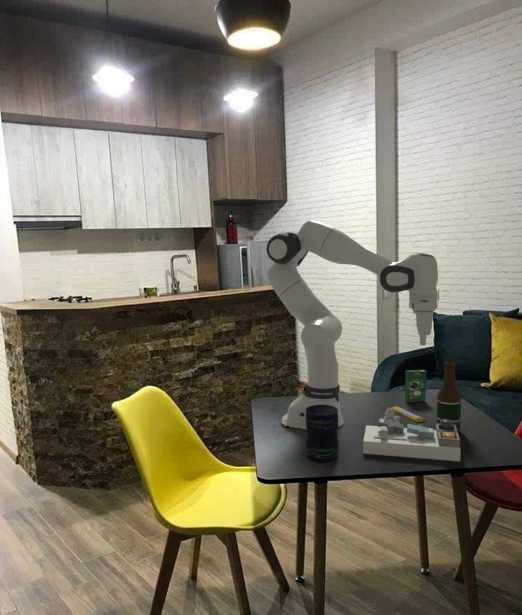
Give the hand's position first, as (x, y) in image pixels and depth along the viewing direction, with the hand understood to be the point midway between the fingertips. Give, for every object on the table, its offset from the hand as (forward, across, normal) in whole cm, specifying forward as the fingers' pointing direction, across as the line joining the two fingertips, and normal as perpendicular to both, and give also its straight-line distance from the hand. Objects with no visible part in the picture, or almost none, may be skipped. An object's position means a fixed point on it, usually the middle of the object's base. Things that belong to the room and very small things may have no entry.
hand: (422, 344), depth 164 cm
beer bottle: (+31, -6, +9) cm, 33 cm away
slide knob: (+27, +15, -12) cm, 33 cm away
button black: (+25, +8, +7) cm, 27 cm away
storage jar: (+31, +24, -30) cm, 50 cm away
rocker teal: (+25, +12, -1) cm, 28 cm away
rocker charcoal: (+25, +9, -10) cm, 28 cm away
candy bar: (+32, -20, -4) cm, 38 cm away
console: (+31, +12, -4) cm, 34 cm away
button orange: (+27, +15, +7) cm, 32 cm away
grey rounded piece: (+31, -6, -10) cm, 34 cm away
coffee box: (+31, -38, -1) cm, 49 cm away
